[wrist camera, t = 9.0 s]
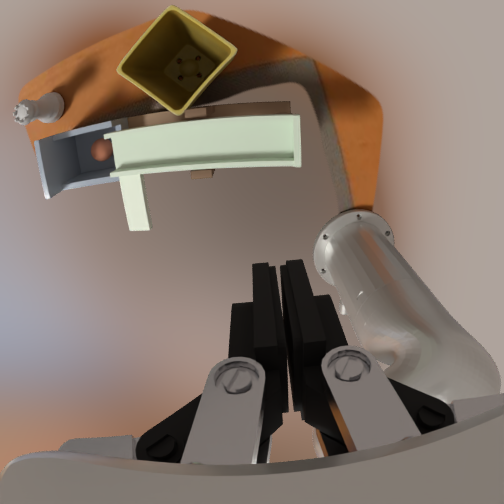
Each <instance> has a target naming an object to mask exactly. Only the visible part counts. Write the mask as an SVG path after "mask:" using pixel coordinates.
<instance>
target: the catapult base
mask: <svg viewBox="0 0 504 504" xmlns="http://www.w3.org/2000/svg"><path fill="white" fill-rule="evenodd" d="M268 114H292V113H291V111H290V101H283V102H256V103H255V102H254V103H238V104H225V105H213V106H203V107H194V108H189V109H187V110H184V113H183V114H182V115H180V116H177V115H175V114H173V113H172V112H170V111H164V112H158V113H151V114H145V115H140V116H134V117H129V118H127V119H128V127H129V129H130V128H136V127H142V126H148V125H155V124H162V123H169V122H177V121H186V120H195V119H205V118H216V117H229V116H245V115H268ZM214 171H215V168H213V169H197V170H191V179H201V178H212V176H213V174H214Z"/></svg>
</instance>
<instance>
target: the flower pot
mask: <svg viewBox="0 0 504 504" xmlns="http://www.w3.org/2000/svg"><path fill="white" fill-rule="evenodd" d="M236 53H237V48H236V47H235V46H234V45H232V44H231V43H230V42H228V41H227V40H225V39H224V38H223V37H221V36H220V35H218V34H217V33H216V32H214V31H213V30H211V29H210V28H208V27H207V26H205V25H204V24H203V23H201V22H200V21H198V20H197V19H195V18H193V17H192V16H190V15H189V14H188V13H186V12H184V11H183V10H181V9H180V8H178V7H176V6H174V5H171V6H169V7H168V8H167V9H165V10H164V11H163V13H162V14H161V15H160V16H159V17H158V18H157V19H156V20H155V21H154V22H153V24H152V25H151V26H150V27H149V28H148V29H147V30H146V32H145V33H144V34H143V35H142V36H141V38H140V39H139V40H138V41H137V42H136V44H135V45H134V46H133V47H132V48H131V50H130V51H129V52H128V53H127V55H126V56H125V57H124V58H123V60H122V61H121V63H120V64H119V66H118V68H117V70H116V71H117V72H118V73H119V74H120V75H121V76H123V77H124V78H126V79H127V80H128V81H130V82H131V83H133V84H134V85H136V86H137V87H138V88H140V89H141V90H143V91H144V92H145V93H147V94H148V95H149V96H151V97H152V98H153V99H155V100H156V101H158V102H159V103H160V104H161V105H163V106H164V107H165V108H166V109H168V110H169V111H170V112H172V113H173V114H175V115H177V116H180V115H182V114H183V113H184V110H187V109H189V108H190V107H191V106H192V105H193V103H194V102H195V101H196V100H197V98H198V97H199V96H200V95H201V94H202V93H203V91H204V90H205V89H206V88H207V87H208V86H209V84H210V83H211V82H212V81H213V80H214V79H215V78H216V77H217V76H218V75H219V74H220V73H221V72H222V71H223V70H224V68H225V67H226V66H227V65H228V64H229V63H230V62H231V61H232V60H233V58H234V57H235V55H236ZM197 56H199V57H200V60H196V57H197ZM178 59H181V60H182V62H181V63H178V62H177V60H178ZM198 73H200V74H201V75H202V76H201V77H200V78H198V77H197V74H198ZM179 76H183V79H182V80H179Z"/></svg>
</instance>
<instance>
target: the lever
mask: <svg viewBox="0 0 504 504" xmlns="http://www.w3.org/2000/svg"><path fill="white" fill-rule="evenodd" d="M109 138H111V140H112V147H113V153H114V160H115V166H116V170H114V171H112V172H111V173H110V177H119V180H120V185H121V190H122V196H123V201H124V206H125V211H126V216H127V220H128V225H129V229H130V231H138V230H139V231H140V230H151V228H152V222H151V217H150V211H149V206H148V200H147V194H146V188H145V182H144V176H143V174H147V173H158V172H170V171H181V170H197V169H213V168H233V167H264V166H294V167H301V132H300V115H299V114H268V115H245V116H229V117H216V118H205V119H195V120H186V121H177V122H169V123H162V124H155V125H148V126H142V127H136V128H130V129H124V130H119V131H114V132H110V133H107V134H104V139H109Z"/></svg>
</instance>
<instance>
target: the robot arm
mask: <svg viewBox="0 0 504 504" xmlns="http://www.w3.org/2000/svg"><path fill="white" fill-rule="evenodd" d="M358 214H359V215H358ZM357 215H358V216H357ZM324 234H326V235H325V236H323V235H324ZM313 260H314V263H315V267H316V269H317V271H318V273H319V274H320V276H321V277H322V278H323V279H324V280H325V281H326V282H328V283H329V284H331V285H333V286H336V288H337V290H338V293H339V295H340V297H341V300H340V305H339V312H340V313H341V314H343V315H347V314H348V316H349V319H350V321H351V323H352V326H353V328H354V331H355V333H356V335H357V338H358V340H359V342H360V344H361V346H362V347H363V348H360V347H357V346H348V343H347V341H346V338H345V335H344V332H343V329H342V326H341V324H340V321H339V318H338V315H337V313H336V310H335V307H334V304H333V302H332V299H331V297H330V295H319V296H313V292H312V289H311V286H310V283H309V279H308V276H307V273H306V269H305V267H304V263H303V260H302V259H299V260H290V261H286V265H281V266H280V274H281V290H282V308H283V316H282V310H281V303H280V296H279V289H278V282H277V275H276V268H275V266H270V267H269V264H268V262H267V263H256V264H252V267H253V268H252V271H253V302H246V303H234V304H232V311H231V325H230V339H229V354H228V359H225V360H223V361H221V362H219V363H218V364H216V365H215V366H214V367H213V368H212V369H211V371H210V373H209V375H208V378H207V381H206V384H205V387H204V390H203V393H202V394H201V395H199V396H198V397H196V398H195V399H194V400H192V401H191V402H189V403H188V404H187V405H185V406H184V407H183V408H181V409H179V410H178V411H176V412H175V413H174V414H172V415H171V416H169V417H168V418H166V419H165V420H163V421H162V422H160V423H159V424H157V425H156V426H154V427H153V428H152V429H150V430H148V431H147V432H146V433H144V434H143V435H142V436H141V437H139V438H134V437H133V436H132V435H125V436H114V437H101V438H100V437H99V438H78V439H71V440H68V441H67V442H65V443H64V444H63V445H62V446H61V447H60V448H59V450H58V451H42V452H35V453H29V454H25V455H22V456H19V457H17V458H15V459H13V460H12V461H10V462H9V463H8V464H7V465H6V466H5V467H4V469H3V470H2V472H1V473H0V504H504V393H502V394H499V393H500V387H501V379H500V374H499V371H498V368H497V366H496V364H495V362H494V361H493V359H492V357H491V356H490V354H489V353H488V352H487V351H486V350H485V348H484V347H483V346H482V345H481V344H480V343H479V342H478V341H477V340H476V339H475V338H473V336H471V335H470V334H469V333H468V332H467V331H466V330H465V329H464V328H463V327H462V326H461V325H460V324H459V323H458V322H457V321H456V320H455V319H454V318H453V317H452V316H451V315H450V314H449V312H448V311H447V310H446V309H445V308H444V307H443V305H442V304H441V303H440V302H439V301H438V299H437V298H436V297H435V296H434V294H433V293H432V292H431V291H430V289H429V288H428V287H427V286H426V285H425V284H424V282H423V281H422V280H421V278H420V277H419V276H418V275H417V273H416V272H415V271H414V270H413V269H412V267H411V266H410V265H409V264H408V263H407V261H406V260H405V259H404V258H403V257H402V255H401V254H400V253H399V252H398V251H397V250H396V248H395V247H394V236H393V233H392V230H391V228H390V226H389V225H388V223H387V222H386V221H385V220H384V219H383V218H382V217H381V216H379V215H378V214H376V213H374V212H372V211H369V210H364V209H354V210H349V211H346V212H343V213H340V214H338V215H337V216H335V217H333V218H332V219H331V220H330V221H329V222H327V223H326V224H325V225H324V227H323V228H322V229H321V230H320V232H319V234H318V235H317V237H316V240H315V243H314V248H313ZM287 360H288V367H289V376H290V383H291V391H292V399H293V407H294V412H296V411H301V418H302V420H305V422H306V423H308V424H309V425H311V426H313V427H314V428H313V435H312V436H313V445H314V448H315V451H316V454H317V457H318V458H314V459H306V460H298V461H288V462H278V463H269V459H270V451H271V444H272V434H273V433H274V432H275V431H276V430H277V429H278V428H279V427H280V426H281V425H282V424H283V419H282V413H286V412H289V407H288V374H287ZM376 360H378V361H380V362H382V363H384V364H387V365H390V367H388V368H387V369H386V370H384V371H383V370H382V369H381V367H380V365H379V364H378V362H377V361H376Z"/></svg>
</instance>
